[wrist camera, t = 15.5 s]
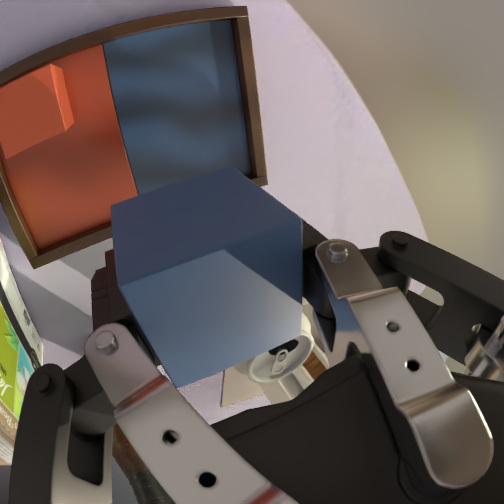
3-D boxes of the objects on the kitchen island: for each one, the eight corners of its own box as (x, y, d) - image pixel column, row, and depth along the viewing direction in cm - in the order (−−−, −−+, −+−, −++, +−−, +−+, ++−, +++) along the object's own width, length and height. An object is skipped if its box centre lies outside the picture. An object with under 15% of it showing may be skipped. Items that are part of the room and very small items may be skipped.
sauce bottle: (80, 359, 29) (113, 528, 14) (98, 324, 28) (140, 514, 13) (128, 372, 33) (178, 523, 18) (150, 340, 32) (214, 505, 17)
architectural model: (384, 279, 48) (484, 368, 30) (347, 361, 58) (416, 441, 41) (230, 319, 36) (343, 489, 18) (221, 407, 46) (287, 523, 29)
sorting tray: (-26, 90, 12) (-34, 92, 11) (238, 9, 19) (247, 5, 17) (36, 259, 22) (33, 270, 20) (259, 178, 28) (268, 184, 27)
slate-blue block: (109, 204, 9) (116, 285, 6) (232, 165, 11) (303, 218, 7) (148, 300, 12) (176, 389, 9) (246, 264, 13) (302, 335, 10)
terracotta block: (9, 92, 14) (-13, 95, 10) (62, 67, 15) (50, 63, 12) (23, 145, 16) (5, 159, 13) (74, 122, 18) (66, 130, 14)
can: (268, 250, 33) (335, 322, 24) (247, 305, 36) (300, 381, 27) (202, 246, 29) (258, 332, 20) (187, 307, 32) (230, 396, 23)
